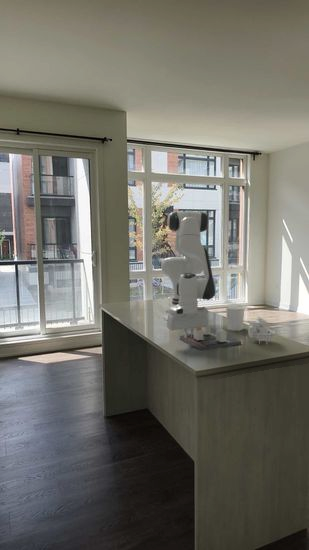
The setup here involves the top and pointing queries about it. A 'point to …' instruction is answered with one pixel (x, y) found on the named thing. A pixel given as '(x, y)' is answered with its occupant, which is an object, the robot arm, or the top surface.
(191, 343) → the panel
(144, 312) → the top surface
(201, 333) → the breaker mid
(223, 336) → the breaker right
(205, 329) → the breaker left
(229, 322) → the candle holder
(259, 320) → the mechanical part
